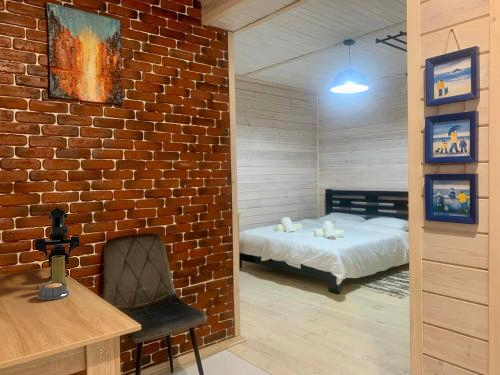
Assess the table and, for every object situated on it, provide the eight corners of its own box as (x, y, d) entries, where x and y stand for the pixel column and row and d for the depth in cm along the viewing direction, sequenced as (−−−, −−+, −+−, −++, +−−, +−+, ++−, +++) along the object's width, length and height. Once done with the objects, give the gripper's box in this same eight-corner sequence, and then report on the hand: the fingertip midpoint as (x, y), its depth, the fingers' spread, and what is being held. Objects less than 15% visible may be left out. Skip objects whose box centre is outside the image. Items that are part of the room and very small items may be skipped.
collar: (53, 290, 168) (53, 280, 168) (75, 293, 164) (75, 282, 164) (29, 299, 156) (29, 288, 156) (53, 302, 153) (52, 290, 153)
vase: (47, 289, 170) (47, 257, 170) (59, 285, 176) (58, 254, 176) (58, 290, 168) (57, 258, 168) (69, 287, 174) (68, 255, 173)
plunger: (53, 283, 164) (53, 282, 164) (65, 285, 162) (65, 284, 162) (40, 288, 158) (40, 286, 158) (53, 289, 156) (53, 288, 156)
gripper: (35, 221, 178) (34, 249, 168) (79, 219, 186) (80, 245, 177) (36, 236, 185) (35, 263, 176) (78, 233, 193) (79, 259, 184)
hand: (58, 257), depth 178 cm, fingers open, 9 cm apart
